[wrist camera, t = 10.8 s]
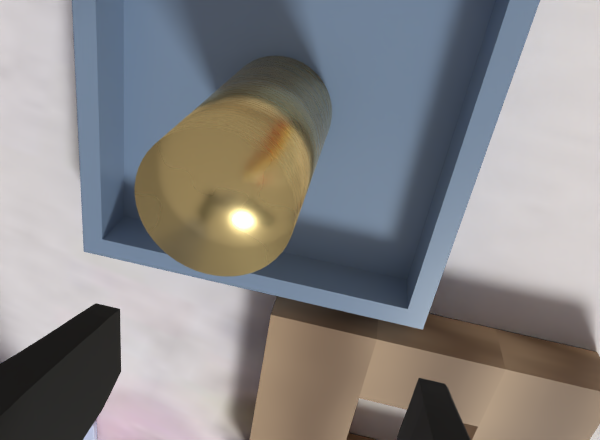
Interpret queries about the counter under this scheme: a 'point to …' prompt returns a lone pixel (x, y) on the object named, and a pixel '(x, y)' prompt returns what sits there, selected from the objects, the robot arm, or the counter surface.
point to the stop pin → (236, 169)
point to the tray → (340, 139)
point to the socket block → (419, 376)
